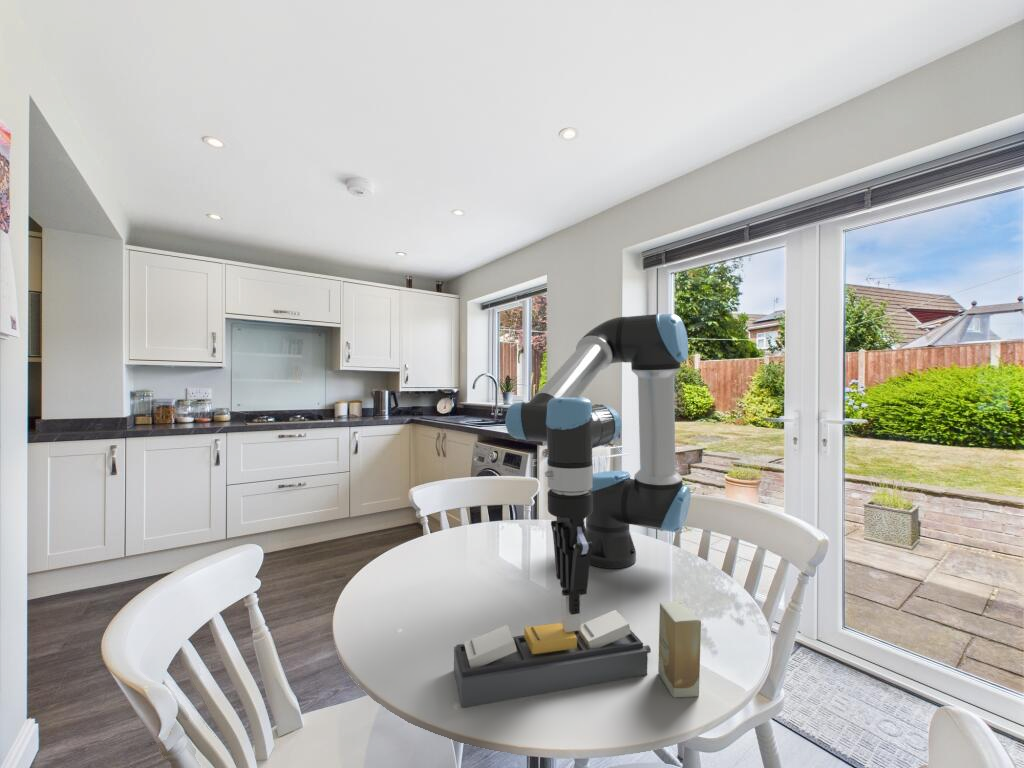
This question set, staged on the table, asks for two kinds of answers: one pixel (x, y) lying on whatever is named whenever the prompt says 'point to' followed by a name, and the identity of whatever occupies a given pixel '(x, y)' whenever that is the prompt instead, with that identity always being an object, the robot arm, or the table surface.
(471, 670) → the power strip
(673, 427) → the robot arm
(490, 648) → the rocker
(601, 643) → the block
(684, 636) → the skincare box
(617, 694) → the table surface
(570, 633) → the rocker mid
